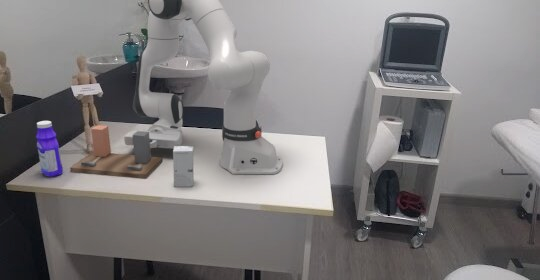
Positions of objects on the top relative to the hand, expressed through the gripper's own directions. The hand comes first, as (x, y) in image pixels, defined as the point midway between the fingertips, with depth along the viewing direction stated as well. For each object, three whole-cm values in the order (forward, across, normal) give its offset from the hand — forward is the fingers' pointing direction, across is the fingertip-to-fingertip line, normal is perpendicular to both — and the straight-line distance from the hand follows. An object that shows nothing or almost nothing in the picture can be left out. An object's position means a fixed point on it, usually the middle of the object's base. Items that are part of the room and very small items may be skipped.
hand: (144, 147), depth 140 cm
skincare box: (+12, +18, +6) cm, 23 cm away
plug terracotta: (-1, -16, +4) cm, 17 cm away
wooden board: (+4, -8, +6) cm, 11 cm away
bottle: (+13, -26, +6) cm, 30 cm away
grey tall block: (+2, 0, +4) cm, 5 cm away
